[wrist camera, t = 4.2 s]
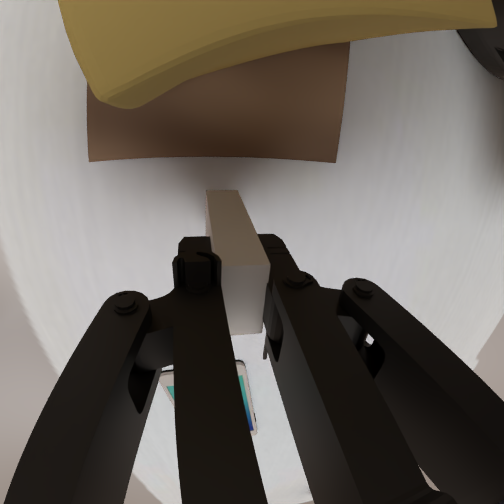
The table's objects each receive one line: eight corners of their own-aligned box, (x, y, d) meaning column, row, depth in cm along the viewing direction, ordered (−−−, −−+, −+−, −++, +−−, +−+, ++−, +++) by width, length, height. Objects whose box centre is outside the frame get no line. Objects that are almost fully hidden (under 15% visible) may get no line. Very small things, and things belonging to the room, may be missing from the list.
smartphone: (245, 362, 23) (258, 434, 30) (243, 354, 23) (257, 428, 31) (155, 375, 22) (196, 444, 29) (155, 367, 22) (196, 438, 30)
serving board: (123, -90, 5) (121, -95, 5) (348, -71, 8) (352, -74, 8) (92, 159, 13) (89, 162, 13) (330, 160, 16) (335, 163, 15)
